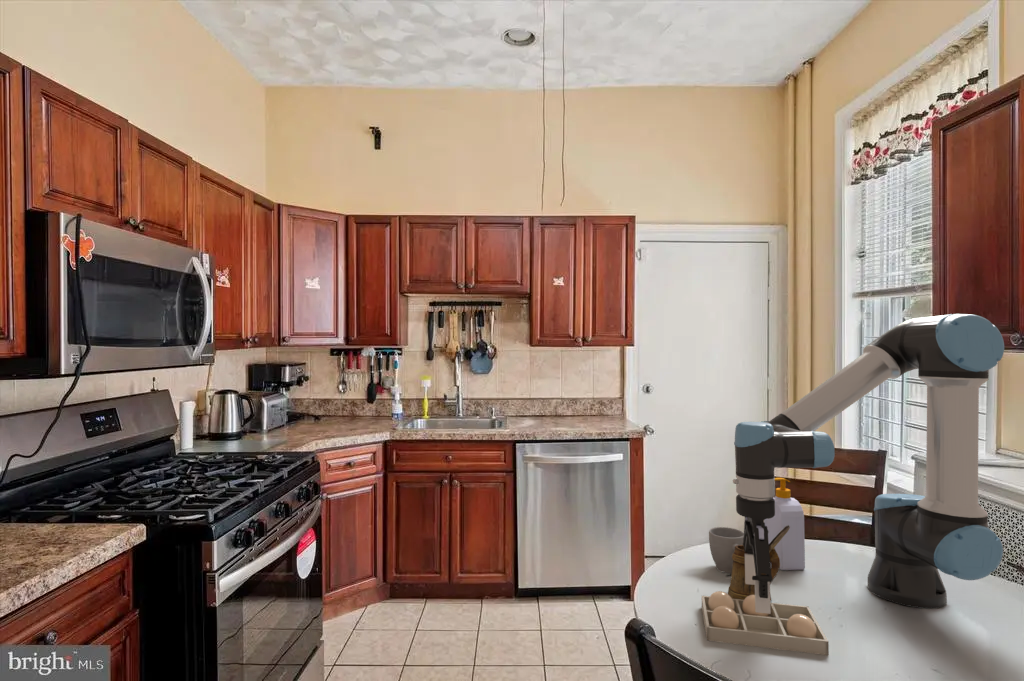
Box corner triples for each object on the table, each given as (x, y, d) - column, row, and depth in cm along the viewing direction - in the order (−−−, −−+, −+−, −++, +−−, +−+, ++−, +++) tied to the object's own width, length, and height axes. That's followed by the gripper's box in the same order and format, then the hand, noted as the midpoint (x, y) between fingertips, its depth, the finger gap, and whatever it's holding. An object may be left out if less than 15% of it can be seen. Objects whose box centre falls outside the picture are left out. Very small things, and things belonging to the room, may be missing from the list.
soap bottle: (761, 558, 152) (760, 474, 153) (786, 557, 153) (784, 474, 153) (779, 571, 143) (778, 482, 144) (805, 570, 144) (803, 482, 144)
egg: (766, 616, 118) (767, 592, 118) (771, 628, 113) (772, 603, 113) (740, 612, 119) (741, 588, 119) (743, 624, 114) (744, 599, 114)
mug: (703, 563, 149) (703, 527, 149) (734, 561, 150) (734, 526, 150) (725, 582, 137) (724, 542, 137) (759, 580, 138) (758, 541, 138)
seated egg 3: (812, 637, 109) (812, 610, 110) (820, 650, 104) (819, 623, 105) (784, 633, 111) (783, 607, 111) (790, 647, 106) (789, 619, 106)
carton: (808, 621, 117) (808, 606, 117) (828, 658, 103) (828, 641, 103) (701, 609, 123) (701, 595, 123) (707, 643, 109) (706, 627, 109)
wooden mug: (785, 615, 118) (784, 528, 120) (722, 598, 127) (721, 518, 128) (796, 603, 125) (795, 522, 126) (735, 588, 134) (734, 512, 135)
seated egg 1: (732, 612, 120) (732, 588, 120) (736, 624, 115) (735, 598, 115) (707, 609, 121) (707, 585, 121) (709, 621, 116) (709, 596, 116)
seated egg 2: (737, 628, 113) (736, 602, 113) (740, 641, 108) (740, 614, 108) (710, 625, 114) (710, 599, 115) (712, 637, 109) (712, 611, 110)
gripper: (729, 481, 130) (730, 572, 129) (744, 511, 106) (746, 623, 105) (763, 482, 128) (765, 575, 127) (787, 514, 104) (790, 628, 103)
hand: (757, 597), depth 116 cm, fingers open, 13 cm apart
